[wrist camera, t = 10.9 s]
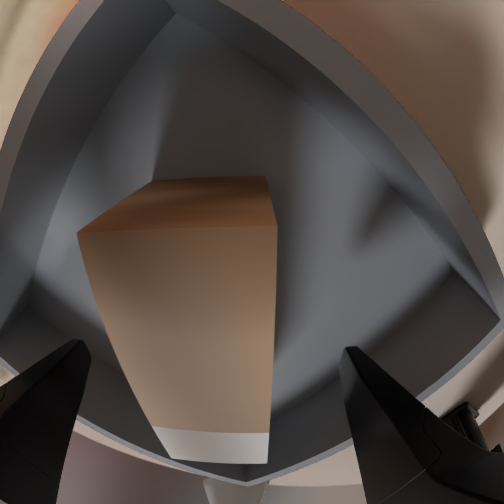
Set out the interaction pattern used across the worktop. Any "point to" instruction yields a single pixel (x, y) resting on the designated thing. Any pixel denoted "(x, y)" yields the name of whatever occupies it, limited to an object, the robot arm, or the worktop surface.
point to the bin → (282, 196)
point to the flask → (233, 492)
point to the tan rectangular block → (192, 309)
